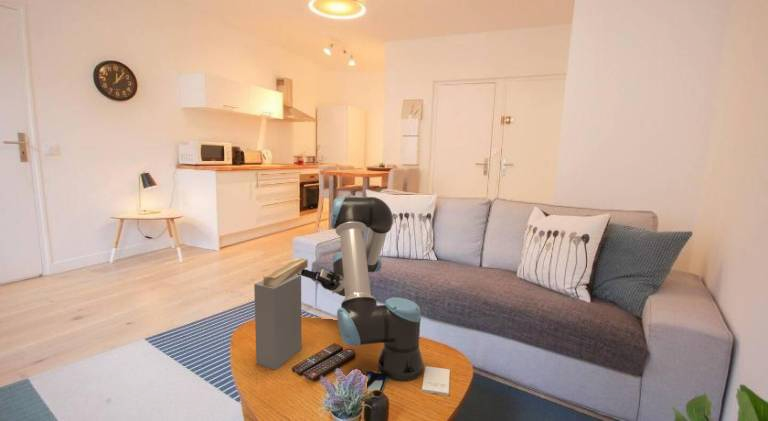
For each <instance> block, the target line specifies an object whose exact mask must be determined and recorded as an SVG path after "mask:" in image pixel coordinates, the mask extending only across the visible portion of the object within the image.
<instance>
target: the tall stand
mask: <svg viewBox="0 0 768 421" xmlns="http://www.w3.org/2000/svg"><path fill="white" fill-rule="evenodd" d="M253 290H254V318H255V319H254V321H255V323H254V324H255V326H254V327H255V358H256V359H255V360H256V361H255V362H256V365H259V366H262V367H265V368H268V369H270V370H274V371H277V370H278V369H279V368H280V367H281V366H283V365H284V364H286V363H287V362H288V361H289V360H291V359H292V358H294V356H295V355H297V354H299V353H300V352H301V351H302V349H303V348H302V346H303V344H302V342H303V341H302V331H303V330H302V275H297V274H295V275H293V276H292V277H290V278H288V279H287V280H285V281H283V282H282V283H280V284H279V285H277V286H275V287H271V286H265V285H264V284H263V280H261V281H258V282H257V283H254V284H253Z"/></svg>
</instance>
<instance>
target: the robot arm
mask: <svg viewBox="0 0 768 421" xmlns="http://www.w3.org/2000/svg"><path fill="white" fill-rule="evenodd" d="M393 220H394V218H393V212H392V210H391V208H390V207H389V205H388V204H387V203H386V202H385V201H384V200H382V199H381V198H378V197H374V196H367V197H366V196H360V197H355V196H354V197H351V196H349V197H347V196H344V197H342V196H341V197H336V198H335V199H334V200H333V203H332V211H331V221H330V228H331V229H335V234H336V235H337V236H339V238H340V250H341V251H338V252H335V253H334V254H333V256H332V269H333V270H332V271H328V270H326V269H323V268H321V270H320V271H312V270H309V269H307V268H305V269H303V270H302V271H300V272H298V273H297V274H296V275H301V277H304V278H305V277H306V278H308V279H310V280H314V281H316V282H318V283H320V284H321V286H322V287H323V289H324V290H326V291H327V290H328V291H330V292H331V293H332V294H337V295H339V296H341V297H345V298H344V300H342V302H341V303H340V306H341V307H339V308H338V309H337V312H336V315H337V316H336V318H337V326H338V331H339V335H340V339H341V341H342V343H343V344H344V345H345V346H358V347H359V346H361V345H372V344H382V343H383V347H382V349H381V352H380V354H379V357H378V361H377V364H378V365H377V369H378V372H379V373H382V374H384V375H385V376H387V377H388V379H389V380H393V381H398V382H408V381H412V380H416V379H417V378H419V377H420V376H421V375H422V374H423V372H424V360H423V357H422V353H421V350H420V332H421V321H422V318H421V308H420V306H419V305H418V304H417V303H416V302H414V301H412V300H410V299H408V298H403V297H396V296H395V297H389V298H387V299H386V300H385V302H384V304H383V305H382V304H381V305H380V304H379V305H377V304H378V303H377V298H376V297H375V296H373V295H372V294H371V293H372V292H371V286H370V285H371V284H370V276H369V273H378V272H380V271H381V270H382V265H383V264H382V258H381V256H380V255H381V252H382V249H383V246H384V243H385V240H386V236H387V233H389V232H390V231H391V229H392V227H393V225H394V224H393V222H394V221H393ZM367 230H368V232H367ZM366 232H367V236H366V240H365V236H364V234H365V233H366Z"/></svg>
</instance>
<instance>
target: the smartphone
mask: <svg viewBox="0 0 768 421" xmlns="http://www.w3.org/2000/svg"><path fill="white" fill-rule="evenodd" d="M365 375H366V376H367V377H368V381H367V390H368V391H372V390H380V391H381V392H382V393H383V391H384V389H385V386H386V384H387V382H388V379H389V378H388V377H387V376H385V375H384V374H382V373H380V371H373V370H367V371H366V372H365V374H364V376H365Z"/></svg>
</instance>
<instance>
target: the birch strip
mask: <svg viewBox="0 0 768 421" xmlns="http://www.w3.org/2000/svg"><path fill="white" fill-rule="evenodd" d="M308 264H309V262H308V259H307V258H302V257H301V258H300V257H297V258H295V259H293V260H291V261H290V262H288V263H285V264H284V265H282V266H281V267H279V268H277V269H274V270H273V271H271V272H269V273H267V274H265V275H263V280H262V281H263V284H264V285H265V286H271V287H275V286H277V285H279V284H280V283H282V282H283V281H285V280H287V279H288V278H290V277H292V276H293V275H295V274H296V275H297V273H298V272H300V271H302V270H303V269H307V268H308V266H309V265H308Z"/></svg>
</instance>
